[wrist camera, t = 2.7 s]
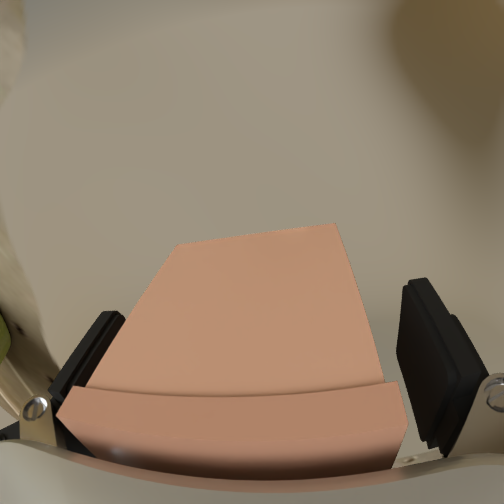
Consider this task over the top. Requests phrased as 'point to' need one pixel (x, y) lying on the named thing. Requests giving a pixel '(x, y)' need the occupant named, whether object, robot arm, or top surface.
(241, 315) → the peach lipped block
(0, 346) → the plant pot
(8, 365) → the top surface
